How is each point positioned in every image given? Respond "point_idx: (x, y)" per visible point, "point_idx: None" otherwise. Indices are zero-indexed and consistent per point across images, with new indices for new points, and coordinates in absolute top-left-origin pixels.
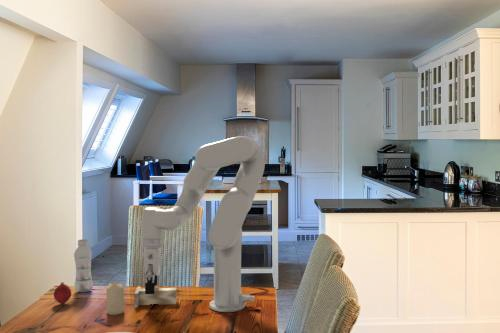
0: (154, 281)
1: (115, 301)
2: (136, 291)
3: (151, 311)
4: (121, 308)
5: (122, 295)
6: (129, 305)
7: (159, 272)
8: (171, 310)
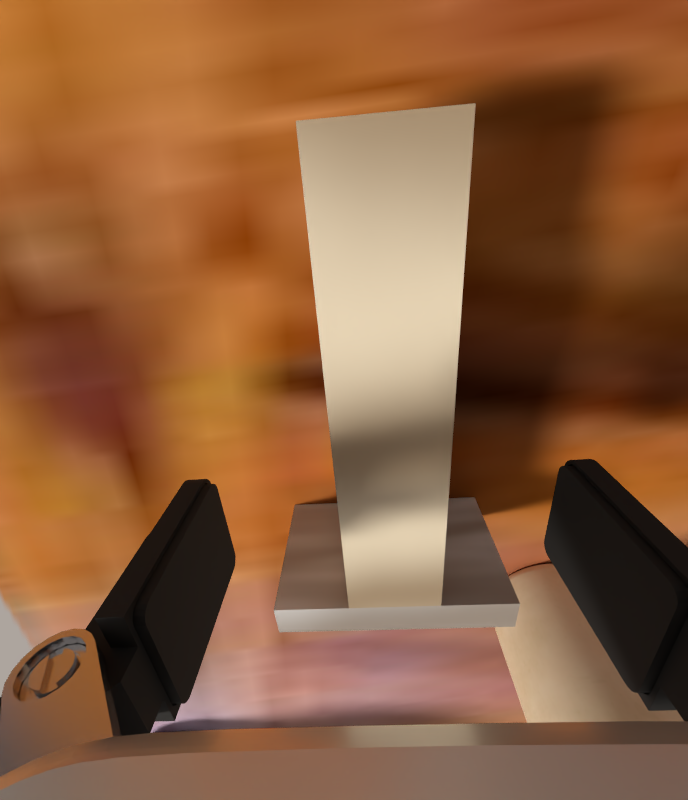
0: (201, 545)
1: None
2: (444, 621)
3: (607, 388)
4: None
5: (662, 711)
6: None
7: (516, 772)
8: (652, 180)
